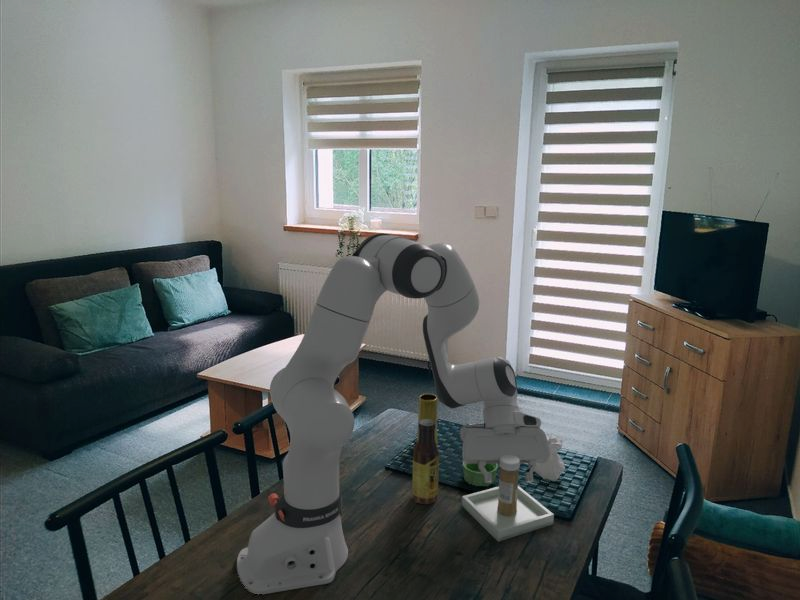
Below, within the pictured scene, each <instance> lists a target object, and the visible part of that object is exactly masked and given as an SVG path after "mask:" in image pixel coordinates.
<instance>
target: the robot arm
mask: <svg viewBox="0 0 800 600" xmlns="http://www.w3.org/2000/svg"><path fill="white" fill-rule="evenodd" d="M458 253H459V252H457V250H456V248H454V247H453V246H451V245H450V244H447V243H443V242H442V243H441V242H439V243H433V244H430V245H426V244H422V243H418V242H416V241H414V240H411V239H409V238H407V237H403V236H400V235H393V234H392V235H391V234H388V233H376V234H372V235H370V236H368V237H366V238H365V239H364V240H363V241H362V242H361V243H360V244H359V246H358V247H357V249H356V251H354V252H353V253H352V255H349V256H348V255H347V256H343V257H342V258H340V259H338V260H337V261H336V262H335V263H334V265H332V268H331V270H330V272H329V273H328V275H327V278H326V279H325V281H324V283H323V285H322V287H321V290H320V292H319V293H318V297H317V299H316V301H315V302H316V303H314V304H315V305H314V307H313V310H312V313H311V315H310V319H309V321H308V324H307V327H306V329H305V332H304V333H303V334H304V335H303V337H302V339H301V341H300V344H299V345H298V347H297V348H296V351H294V354H293V355H292V356H291V358H290V360H289V361H288V363H287V364H286V366H285V367H283V368H281V369H280V370H278V372H276V374H275V375H273V377H272V379H271V382H270V384H269V394H270V399H271V401H272V405H273V408H274V409H275V411H276V412H277V414H278V415H279V416H280V418H281V419H282V420H283V421H284V422H285V423H286V425H287V428H288V432H289V438H290V442H289V447H288V452H287V453H286V455H285V456H284V458H283V461H282V469H283V471H282V473H283V494H282V496H281V497H280V498H279V497H278V494H277V493H274V492H273V493H270V495H269V496H268V497H267V501H268V503H269V504H270V506H271V507H274V513H272V514H271V515H270V516H269V517H268V518H267V519H265V520H264V521H263V522H262V523H260V524H259V525H258V526H256V528H254V529H253V530H252V531H251V534H250V536H249V539H248V545H247V546H246V547H245V548H242V549H241V550H240V551H239V553H238V556H237V558H236V572H237V576H238V575H239V576H238V578H240V579H239V581H240V583H241V582H242V583H241V584H243V585H244V586H245V587H244V586H243V585H242V586H243V587H244V589H245V590H246V589H248V590H249V591H250V592H252V593H254V594H258V595H257V596H260V595H259V594H262V595H266V594H272V593H278V592H279V593H280V592H285V591H290V590H291V591H292V590H296V589H302V588H303V589H304V588H308V587H309V588H310V587H315V586H320V585H327V584H330V583H332V582H333V581H334V579H335V576H336V573H337V571H339V569H340V568H342V566H343V565H344V564H346V561H347V559H348V556H349V548H348V546H347V543H346V539H345V536H344V532H343V527H342V526H343V524H342V515H343V514H342V513H343V511H342V510H343V497H342V490H340V456H341V451H342V448H343V446H344V445H345V443H347V442H348V441H349V439H350V438H351V436H352V435H353V433H354V432H353V431H354V428H355V416H354V413H353V412H352V410H351V407H350V406H349V404H348V403H347V402H348V401H347V400H346V398H345V397H344V396H343V395H342V394H341V393H339V392H338V390H336V389H335V388H334V385H335V383H336V380H337V379H338V377H339V375H340V374H341V372H342V371H343V370H344V369H345V367H346V366H347V365H349V364H351V363H353V362H354V361H355V360H357V357H358V356H359V353H360V351H361V347H362V345H363V342H364V339H365V337H366V334H367V330H368V328H369V325H370V322H371V320H372V316H373V314H374V310H375V307H376V304H377V302H378V300H379V299H380V298H381V297H382V296H383V294H385V292H390V293H393V294H397V295H401V296H403V297H405V298H408V299H415V300H416V299H417V300H418V299H424V300H425V303H426V304H427V305H426V306H427V310H428V312H427V314H426V315H425V316H424V317H423V319H422V320H423V321H422V334H423V335H422V336H423V340H424V345H425V348H426V352H427V357H428V360H429V364H430V367H431V371H432V375H433V376H432V377H433V380H434V381H433V382H434V388H435V389H434V390H435V393H436V396H437V400H438V401H439V402H440V403H441V404H442V405H444V406H446V407H447V408H449V409H456V408H457V409H458V408H459V407H463V406H466V405H471V404H478V403H482V402H483V408H482V415H483V416H482V417H483V423H465V425H462V426H461V428H460V430H459V438H460V439H461V441H462V461H464V462H465V463H467V464H476V463H478V467H479V469H480V471H481V472H482V474H483V475H484V480H485V483H491V482H492V473H488V472H487V471H486V469H485V465H486V463H497V464H499V462H500V457H501V456H503V455H514V456H516V457H518V458H519V460H520V464H527V468H530V469H529V471H528V472H526V473H525V474H524V478H525V480H524V481H525V483H533V481H534V474H533V473H534V469H535V467H536V463H545V462H546V461H547V460H548V459H549V457H550V449H549V444H548V440H547V437H546V436H547V435H546V432H545V431H544V430H543V429H542V428H541V426H542V419H541V418H540V417H537V416H534V415H531V414H527V413H524V412H522V411H520V407H519V404H518V401H517V399H518V390H517V389H518V385H517V378H516V373H515V371H514V368H513V367H512V365H511V363H510V360H508V359H507V358H504V357H501V356H492V357H488V358H483V359H479V360H476V361H469V362H465V363H461V364H456V363H451V362H450V358H449V354H448V350H447V345H446V342H447V340H449V339H450V338H451V337H453V336H454V335H456V334H458V333H460V332H461V331H463V330H464V329H466V328H467V327H468V326H469V325H470V324H471V323H472V321H474V319H475V318H476V316H477V314H478V312H479V309H480V298H479V293H478V291H477V287H476V285H475V283H474V280H473V277H472V276H471V274H470V272H469V270H468V268H467V266H466V265H465V264H466V263H465V262H464V261H463V259H462V258H461V256H460V255H459V254H458ZM248 590H247V591H248ZM249 591H248V592H249ZM250 592H249V593H250ZM252 593H251V594H252ZM254 594H253V595H254Z"/></svg>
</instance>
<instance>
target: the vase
mask: <svg viewBox="0 0 800 600" xmlns="http://www.w3.org/2000/svg"><path fill="white" fill-rule="evenodd" d="M417 415H418V416H417V417H418V418H417V431H416V432H417V433H416V435H417V436H416V443H417V442H418V440H419V427H418V426H419V421H420V420H423V419H430V420H433V421H434V422H435V426H436V428H435V433H434V437H435V442H436V445H438V443H439V442H438V397H437V394H434V393H421V394H420V395H419V396H418V414H417Z"/></svg>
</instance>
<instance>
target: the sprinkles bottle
mask: <svg viewBox="0 0 800 600" xmlns="http://www.w3.org/2000/svg"><path fill="white" fill-rule="evenodd" d="M520 465H521V463H520V460H519V458H518V457H516V456H514V455H503V456H501V457H500V462H499V463H498V467H499V476H498V486H499V491H498V508H497V510H498V512H499V513H500V514H502V515H506V516H512V515H515V514H516V512H517V495H518V486H519V471H520V468H521V467H520Z"/></svg>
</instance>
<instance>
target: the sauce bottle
mask: <svg viewBox="0 0 800 600" xmlns="http://www.w3.org/2000/svg"><path fill="white" fill-rule="evenodd" d="M418 427H419V440H418V442H417V441H416V443H415V445H414V447H413V457H412V481H411V482H412V484H411V485H412V487H411V493H412V499H413V501H414V502H416V503H418V504H421V505H429V504H433V503H435V502H436V501H437V498H438V493H439V469H440V467H439V466H440V452H439V449H438V446H437V445H438V444H437V445H436V442H435V437H434V433H435V428H436V426H435V422H434V421H433V420H430V419H423V420H420V421H419V426H418V425H417V428H418Z"/></svg>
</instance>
